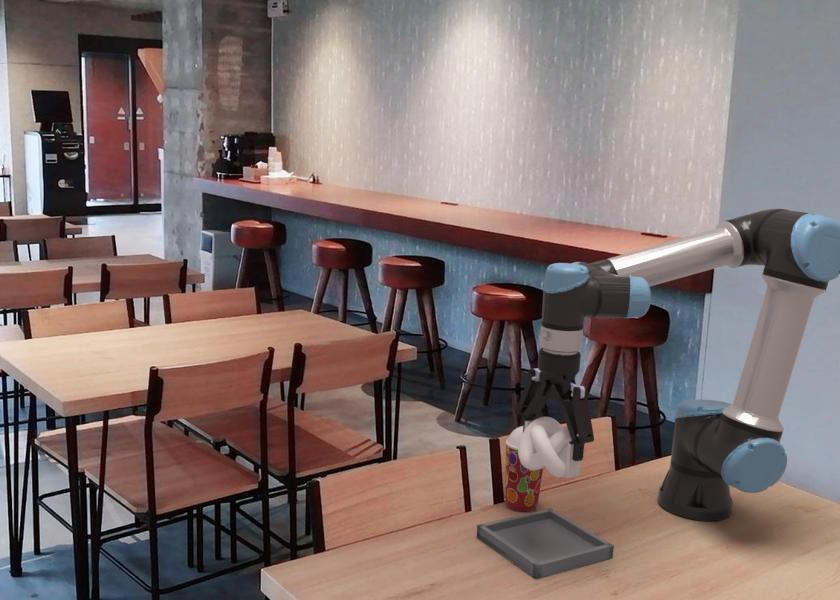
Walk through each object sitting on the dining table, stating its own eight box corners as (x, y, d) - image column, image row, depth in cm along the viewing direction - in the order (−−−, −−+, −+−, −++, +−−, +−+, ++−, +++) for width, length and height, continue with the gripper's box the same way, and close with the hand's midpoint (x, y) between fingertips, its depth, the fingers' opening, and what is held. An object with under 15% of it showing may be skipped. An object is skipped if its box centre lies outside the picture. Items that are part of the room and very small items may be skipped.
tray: (549, 520, 181) (550, 508, 181) (612, 558, 166) (613, 545, 166) (476, 537, 172) (477, 525, 172) (536, 579, 157) (537, 566, 157)
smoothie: (538, 498, 192) (545, 408, 188) (544, 515, 184) (552, 421, 180) (498, 497, 192) (505, 406, 188) (503, 513, 183) (510, 419, 180)
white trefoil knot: (566, 456, 173) (569, 411, 171) (595, 480, 162) (600, 432, 160) (511, 460, 170) (514, 414, 168) (537, 484, 158) (541, 435, 157)
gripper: (503, 336, 170) (495, 446, 174) (589, 368, 150) (578, 491, 154) (534, 333, 174) (525, 441, 178) (622, 364, 154) (610, 484, 158)
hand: (550, 464), depth 166 cm, fingers closed on white trefoil knot, 12 cm apart
